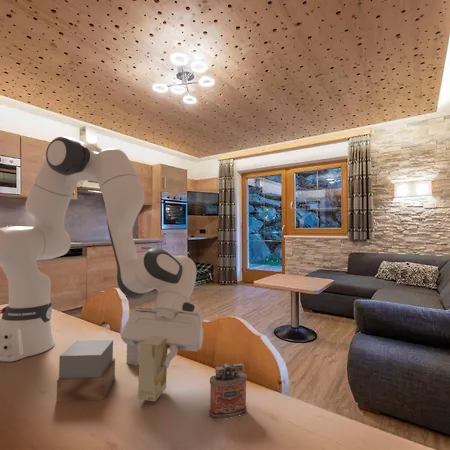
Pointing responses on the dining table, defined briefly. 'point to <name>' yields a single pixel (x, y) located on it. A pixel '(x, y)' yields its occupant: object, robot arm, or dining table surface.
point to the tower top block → (86, 359)
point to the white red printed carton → (132, 354)
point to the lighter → (228, 392)
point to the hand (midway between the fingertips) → (152, 365)
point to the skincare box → (152, 368)
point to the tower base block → (85, 386)
